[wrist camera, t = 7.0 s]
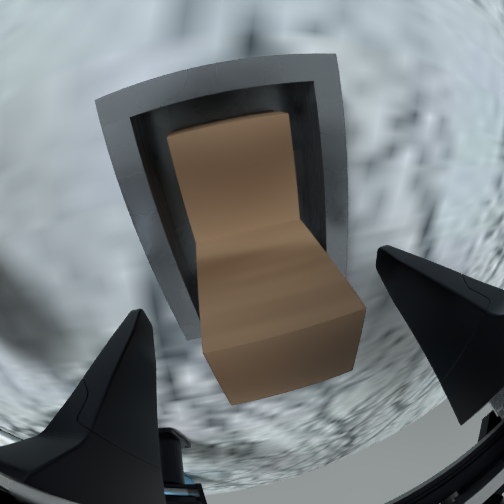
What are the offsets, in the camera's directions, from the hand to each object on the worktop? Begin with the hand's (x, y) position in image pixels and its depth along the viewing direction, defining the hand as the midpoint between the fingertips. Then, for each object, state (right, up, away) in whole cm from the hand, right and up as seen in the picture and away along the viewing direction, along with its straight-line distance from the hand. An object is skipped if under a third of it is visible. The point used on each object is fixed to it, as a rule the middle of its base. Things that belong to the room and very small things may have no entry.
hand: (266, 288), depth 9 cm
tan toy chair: (-1, +3, +2) cm, 4 cm away
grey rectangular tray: (-1, +4, +2) cm, 5 cm away
